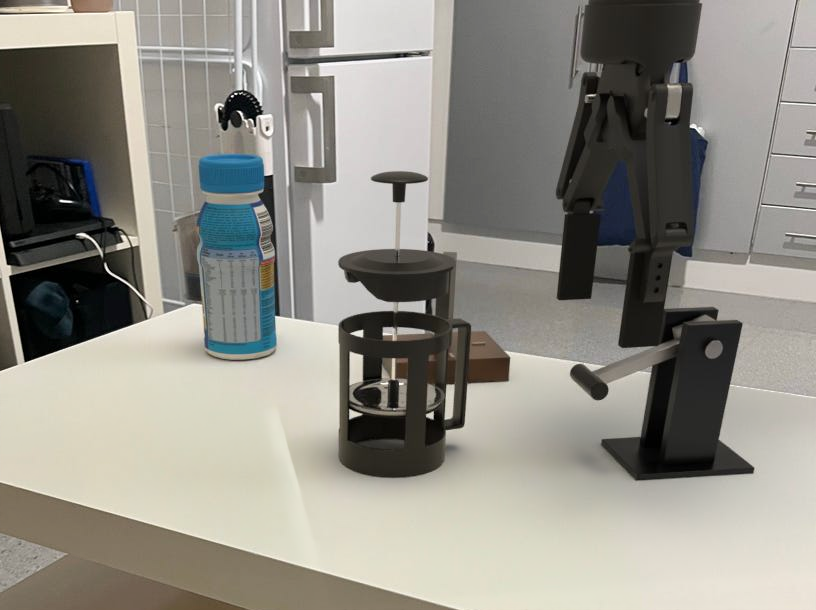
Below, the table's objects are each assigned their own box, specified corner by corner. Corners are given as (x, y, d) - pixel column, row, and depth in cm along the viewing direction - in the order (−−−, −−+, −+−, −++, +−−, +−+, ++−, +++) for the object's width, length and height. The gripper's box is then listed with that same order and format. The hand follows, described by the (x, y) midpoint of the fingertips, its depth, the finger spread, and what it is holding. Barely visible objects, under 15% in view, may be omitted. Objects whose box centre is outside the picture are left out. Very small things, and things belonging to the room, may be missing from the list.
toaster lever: (594, 409, 79) (588, 381, 78) (572, 388, 83) (566, 362, 82) (730, 355, 78) (726, 326, 77) (702, 337, 82) (697, 309, 81)
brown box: (483, 353, 114) (485, 329, 113) (508, 380, 106) (510, 355, 104) (378, 357, 113) (379, 333, 111) (395, 386, 104) (396, 360, 103)
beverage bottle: (221, 366, 110) (208, 165, 100) (192, 346, 117) (177, 155, 106) (290, 354, 114) (285, 159, 103) (258, 336, 120) (250, 150, 109)
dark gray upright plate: (439, 338, 110) (443, 249, 105) (452, 339, 110) (457, 249, 105) (433, 351, 106) (437, 259, 101) (446, 352, 106) (451, 259, 101)
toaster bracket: (634, 492, 82) (661, 332, 75) (599, 455, 88) (620, 305, 82) (751, 484, 83) (788, 326, 76) (707, 448, 90) (737, 300, 83)
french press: (354, 498, 81) (356, 185, 69) (312, 457, 88) (308, 168, 76) (484, 476, 84) (508, 176, 72) (434, 438, 92) (448, 160, 80)
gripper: (531, -5, 77) (510, 284, 88) (668, -7, 56) (617, 373, 67) (626, -7, 77) (593, 280, 89) (796, -9, 57) (724, 366, 68)
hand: (603, 321), depth 78 cm, fingers open, 13 cm apart
